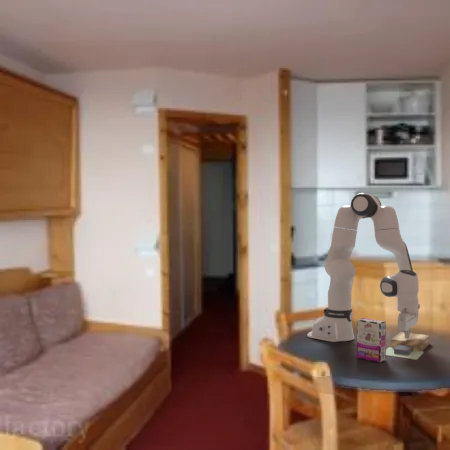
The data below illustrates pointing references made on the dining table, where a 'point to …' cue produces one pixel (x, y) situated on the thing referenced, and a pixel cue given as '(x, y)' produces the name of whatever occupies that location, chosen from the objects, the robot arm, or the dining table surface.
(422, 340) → the square wooden plank
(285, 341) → the dining table surface
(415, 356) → the mat
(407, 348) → the grey flat block
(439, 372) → the dining table surface
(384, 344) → the candy bar box
